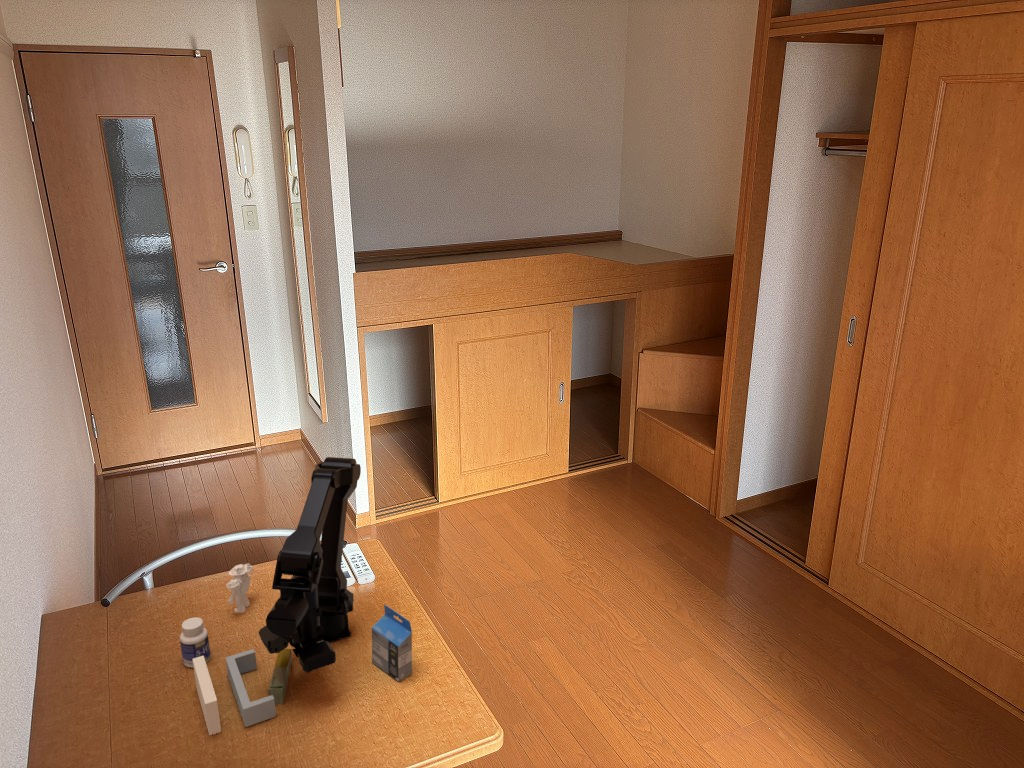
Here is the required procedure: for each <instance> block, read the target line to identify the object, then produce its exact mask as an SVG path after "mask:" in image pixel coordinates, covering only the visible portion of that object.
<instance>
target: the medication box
mask: <svg viewBox="0 0 1024 768" xmlns="http://www.w3.org/2000/svg"><path fill="white" fill-rule="evenodd" d="M292 651H293V650H292V648H285V649H284V650H282V651H280V652H279V653H277V655H276V658H275V660H276V661H275V662H274V668H273V672H272V676H271V679H270V684H269V689H268V696H271V695H273V697H274V702H275V706H280V705H279V704H281V705H284V701H285V696H286V693H287V688H288V682H289V677H290V674H291V670H292V669H291V668H292V665H291V664H293V653H292ZM290 669H291V670H290Z"/></svg>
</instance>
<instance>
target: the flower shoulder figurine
mask: <svg viewBox="0 0 1024 768" xmlns="http://www.w3.org/2000/svg"><path fill="white" fill-rule="evenodd" d="M253 567H254V566H253V565H251V564H250V563H249V562H248V563H245V564H244V563H240V564H237V565H234V567H232V568H231V569H230V570H229V572H228V574H229V575H230V576H233V578H232V577H231V578H230V579H231V580H229V581H228V582H227V583H226V584H225V585H226V590H228V591H229V593H231V594H230V597H229V598H228V601H227V602H228V603H229V605H233V603H234V601H235V604H236V607H235V608H234V613H236V614H243V613H245V612H246V608H248V607H250V605H251V604H250V600H249V598H248V596H247V595H248V594H247V593H248V591H249V588H250V584H251V577H250V575H253V573H254V569H253ZM249 574H250V575H249Z"/></svg>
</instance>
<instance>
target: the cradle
mask: <svg viewBox="0 0 1024 768" xmlns="http://www.w3.org/2000/svg"><path fill="white" fill-rule="evenodd" d="M225 665H226V674H227V678H228V680H229V683H230V685H231V689H232V692H233V695H234V697H235V701H236V704H237V706H238V710H239V713H240V715H241V718H242V721H243V724H244V727H245V728H248V727H250V726H253V725H255V724H258V723H261V722H264V721H266V720H270V719H273V718H276V717H277V713H276V705H275V702H274V697H273V695H271V696H269V695H268V696H265V697H262V698H259V699H256V700H254V701H251V700H250V698H249V695H248V692H247V689H246V686H245V685H244V681H243V678H242V676H241V675H242V674H245V673H248V672H251V671H254V670H258V666H257V665H258V664H257V655H256V651H255V648H252V649H248V650H246V651H242V652H239V653H236V654H233V655H229V656H226V657H225Z"/></svg>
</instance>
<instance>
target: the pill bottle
mask: <svg viewBox="0 0 1024 768" xmlns="http://www.w3.org/2000/svg"><path fill="white" fill-rule="evenodd" d="M181 630H182V631H181V634H179V643H180V649H181V650H180V651H181V658H182V663H183V665H184V666H185V667H187V668H190V667H191V669H192V668H193V669H194V666H193V658H197V657H200V656H204V659H205V662H206V664H207V663H208V662H209V661H210V659H211V649H210V641H209V633H208V629H206V628H205V626H204V621H203V619H202V618H201V617H191V618H187V619H186V620H184V621H183V622H182V624H181Z"/></svg>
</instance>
